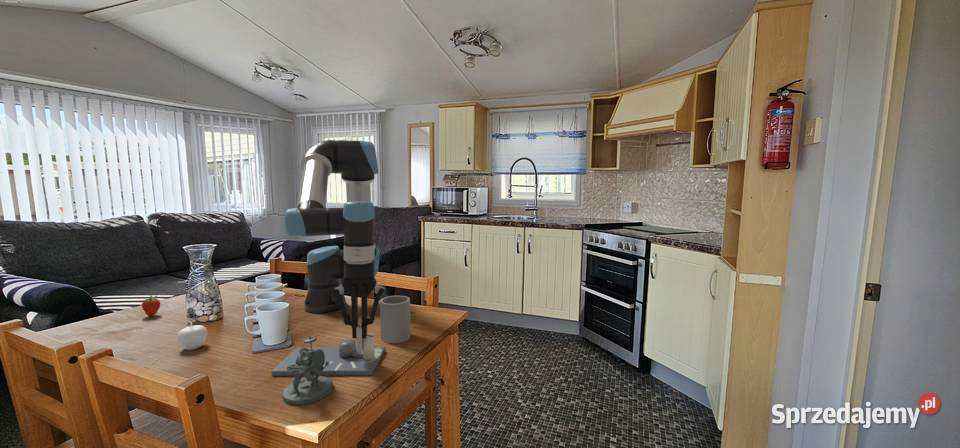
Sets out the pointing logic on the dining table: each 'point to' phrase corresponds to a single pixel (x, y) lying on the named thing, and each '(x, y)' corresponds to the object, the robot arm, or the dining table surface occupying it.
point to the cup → (395, 319)
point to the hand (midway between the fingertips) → (359, 349)
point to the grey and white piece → (349, 349)
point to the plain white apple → (192, 336)
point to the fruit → (151, 305)
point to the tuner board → (334, 363)
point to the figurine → (307, 377)
